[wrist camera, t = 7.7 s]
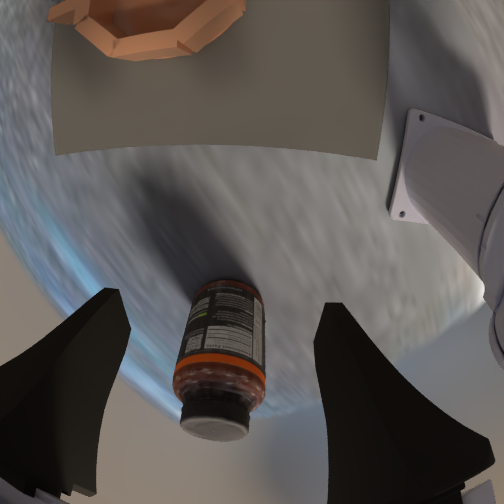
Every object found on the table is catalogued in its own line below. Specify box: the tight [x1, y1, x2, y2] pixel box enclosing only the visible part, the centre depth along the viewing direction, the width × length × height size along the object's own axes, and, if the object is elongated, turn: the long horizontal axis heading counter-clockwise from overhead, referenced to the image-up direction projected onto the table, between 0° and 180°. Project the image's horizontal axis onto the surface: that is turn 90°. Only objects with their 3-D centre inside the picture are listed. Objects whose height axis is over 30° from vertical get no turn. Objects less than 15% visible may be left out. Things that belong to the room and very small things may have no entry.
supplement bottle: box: [173, 280, 266, 442], centre depth 18 cm, size 6×6×11 cm
